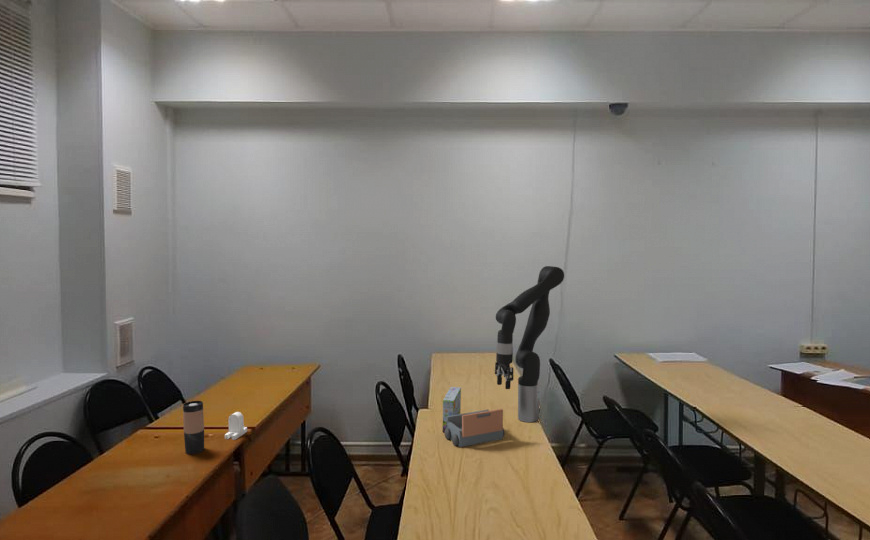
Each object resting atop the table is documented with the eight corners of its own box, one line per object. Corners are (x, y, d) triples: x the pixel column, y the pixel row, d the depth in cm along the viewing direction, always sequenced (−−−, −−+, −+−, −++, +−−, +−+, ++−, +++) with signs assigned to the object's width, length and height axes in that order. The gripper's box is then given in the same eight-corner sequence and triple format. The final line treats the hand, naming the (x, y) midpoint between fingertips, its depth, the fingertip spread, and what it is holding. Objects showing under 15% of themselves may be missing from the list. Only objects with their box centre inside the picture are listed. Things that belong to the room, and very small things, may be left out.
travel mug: (209, 448, 217) (207, 401, 215) (195, 455, 210) (193, 407, 208) (194, 445, 219) (192, 399, 218) (180, 453, 212) (178, 405, 211)
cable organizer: (247, 431, 235) (247, 409, 235) (235, 439, 226) (234, 417, 225) (237, 430, 236) (236, 409, 236) (224, 439, 227) (223, 416, 226)
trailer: (490, 428, 236) (490, 409, 236) (505, 438, 225) (505, 418, 224) (444, 436, 227) (443, 416, 227) (456, 447, 215) (456, 426, 215)
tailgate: (501, 429, 223) (501, 408, 222) (503, 430, 221) (503, 410, 221) (462, 436, 215) (462, 415, 215) (464, 437, 214) (464, 416, 213)
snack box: (454, 433, 231) (454, 400, 230) (442, 432, 232) (441, 399, 231) (461, 417, 252) (461, 386, 251) (450, 416, 253) (449, 386, 252)
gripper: (519, 354, 235) (518, 390, 235) (504, 349, 248) (503, 382, 249) (504, 355, 232) (503, 391, 233) (490, 349, 246) (489, 383, 246)
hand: (503, 386), depth 241 cm, fingers open, 8 cm apart
